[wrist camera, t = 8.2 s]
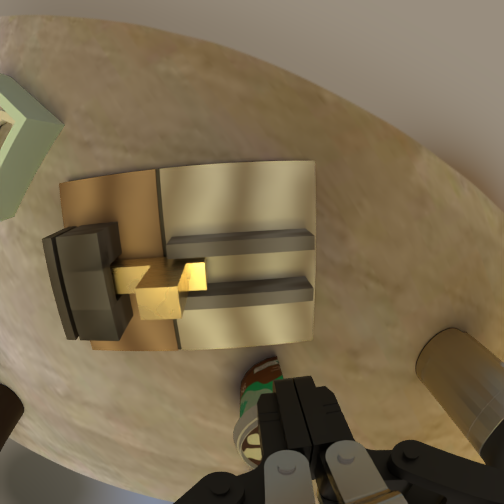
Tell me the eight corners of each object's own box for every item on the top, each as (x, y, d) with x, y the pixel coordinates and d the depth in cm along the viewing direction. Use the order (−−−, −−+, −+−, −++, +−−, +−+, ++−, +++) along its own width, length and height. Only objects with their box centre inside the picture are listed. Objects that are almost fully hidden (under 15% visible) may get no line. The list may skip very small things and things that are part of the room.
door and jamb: (309, 160, 28) (334, 159, 21) (308, 330, 33) (326, 367, 26) (68, 182, 26) (30, 188, 19) (98, 340, 31) (76, 376, 24)
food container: (220, 355, 33) (220, 418, 23) (275, 345, 33) (292, 406, 23) (240, 425, 36) (246, 484, 27) (286, 417, 36) (300, 474, 27)
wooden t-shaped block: (206, 254, 27) (199, 285, 20) (208, 279, 28) (203, 317, 21) (84, 262, 26) (47, 291, 19) (89, 285, 27) (55, 319, 20)
